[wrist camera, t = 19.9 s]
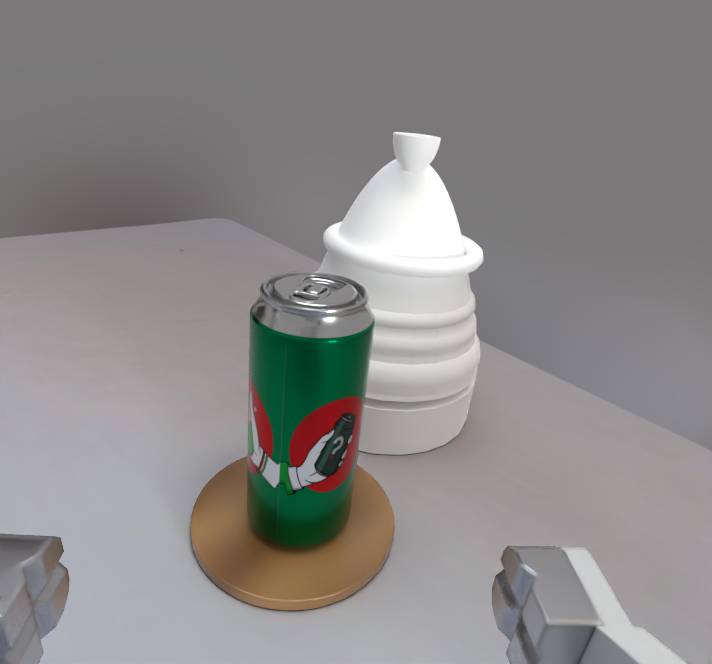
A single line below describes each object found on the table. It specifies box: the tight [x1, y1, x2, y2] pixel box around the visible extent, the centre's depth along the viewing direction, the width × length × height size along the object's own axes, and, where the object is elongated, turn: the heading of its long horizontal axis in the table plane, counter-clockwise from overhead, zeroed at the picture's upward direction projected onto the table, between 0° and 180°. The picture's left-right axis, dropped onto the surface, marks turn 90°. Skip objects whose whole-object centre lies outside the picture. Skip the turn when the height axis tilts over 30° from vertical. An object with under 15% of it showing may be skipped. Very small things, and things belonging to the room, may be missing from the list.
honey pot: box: [317, 132, 483, 455], centre depth 33 cm, size 13×13×18 cm
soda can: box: [247, 271, 375, 548], centre depth 23 cm, size 5×5×12 cm
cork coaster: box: [190, 456, 394, 610], centre depth 26 cm, size 10×10×1 cm
